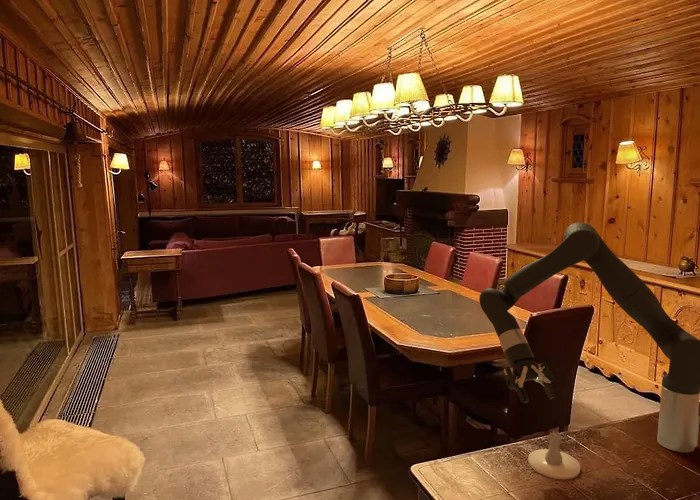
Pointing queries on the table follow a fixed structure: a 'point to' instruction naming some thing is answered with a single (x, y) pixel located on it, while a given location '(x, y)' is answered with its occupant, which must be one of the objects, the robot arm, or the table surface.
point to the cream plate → (562, 471)
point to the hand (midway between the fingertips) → (539, 400)
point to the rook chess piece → (554, 449)
